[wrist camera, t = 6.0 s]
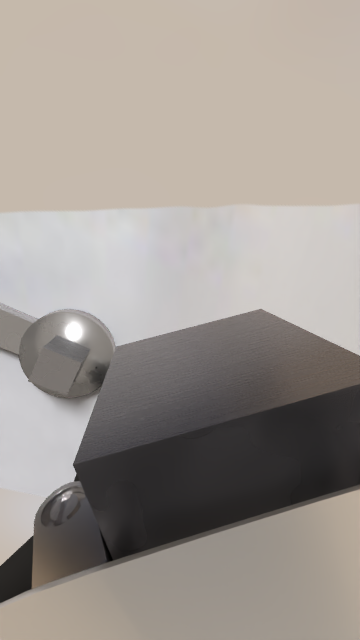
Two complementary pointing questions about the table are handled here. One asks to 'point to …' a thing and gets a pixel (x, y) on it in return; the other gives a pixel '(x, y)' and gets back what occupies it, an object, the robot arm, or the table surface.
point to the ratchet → (59, 349)
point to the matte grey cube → (218, 429)
